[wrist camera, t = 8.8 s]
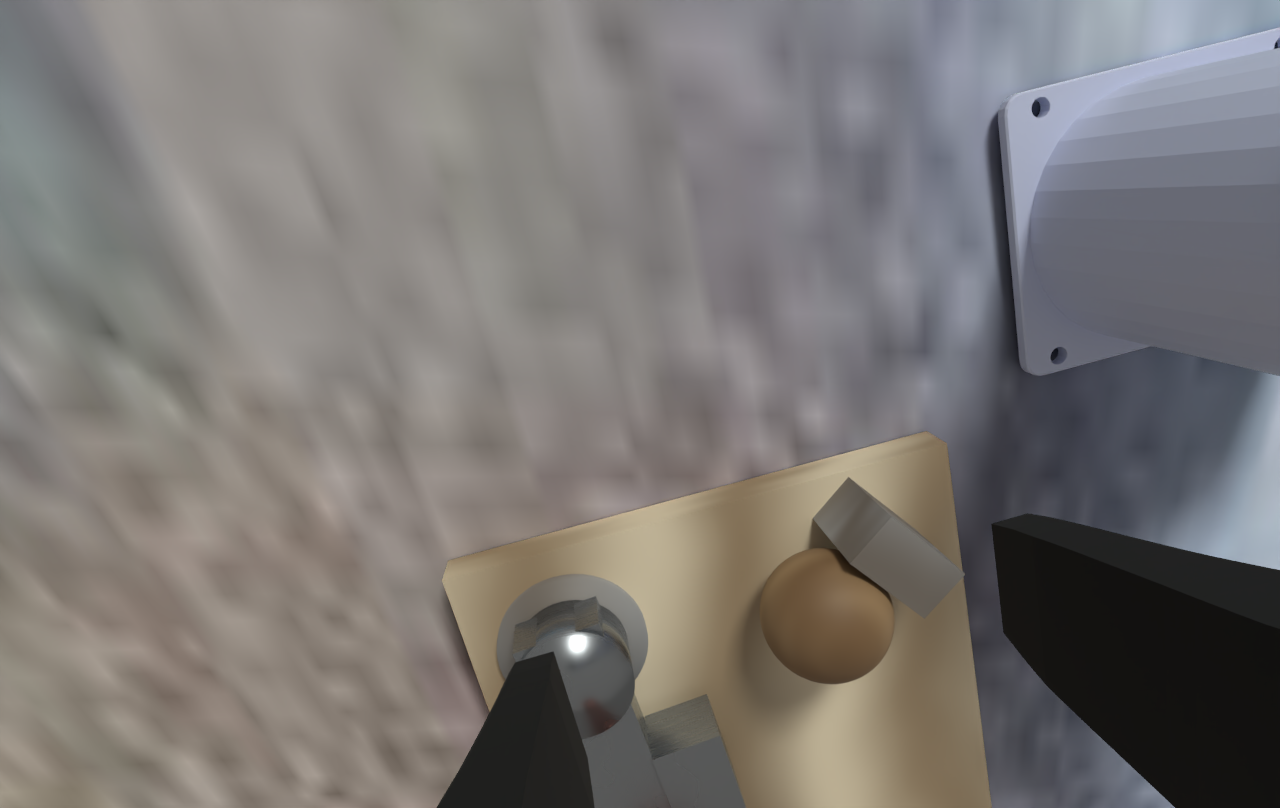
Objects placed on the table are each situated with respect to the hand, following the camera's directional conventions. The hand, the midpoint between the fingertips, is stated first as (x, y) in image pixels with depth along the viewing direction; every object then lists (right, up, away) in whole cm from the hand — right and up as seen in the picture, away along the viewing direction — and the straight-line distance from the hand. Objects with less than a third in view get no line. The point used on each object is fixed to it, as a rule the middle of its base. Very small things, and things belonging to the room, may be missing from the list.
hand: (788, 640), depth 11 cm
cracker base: (+1, -6, +13) cm, 14 cm away
